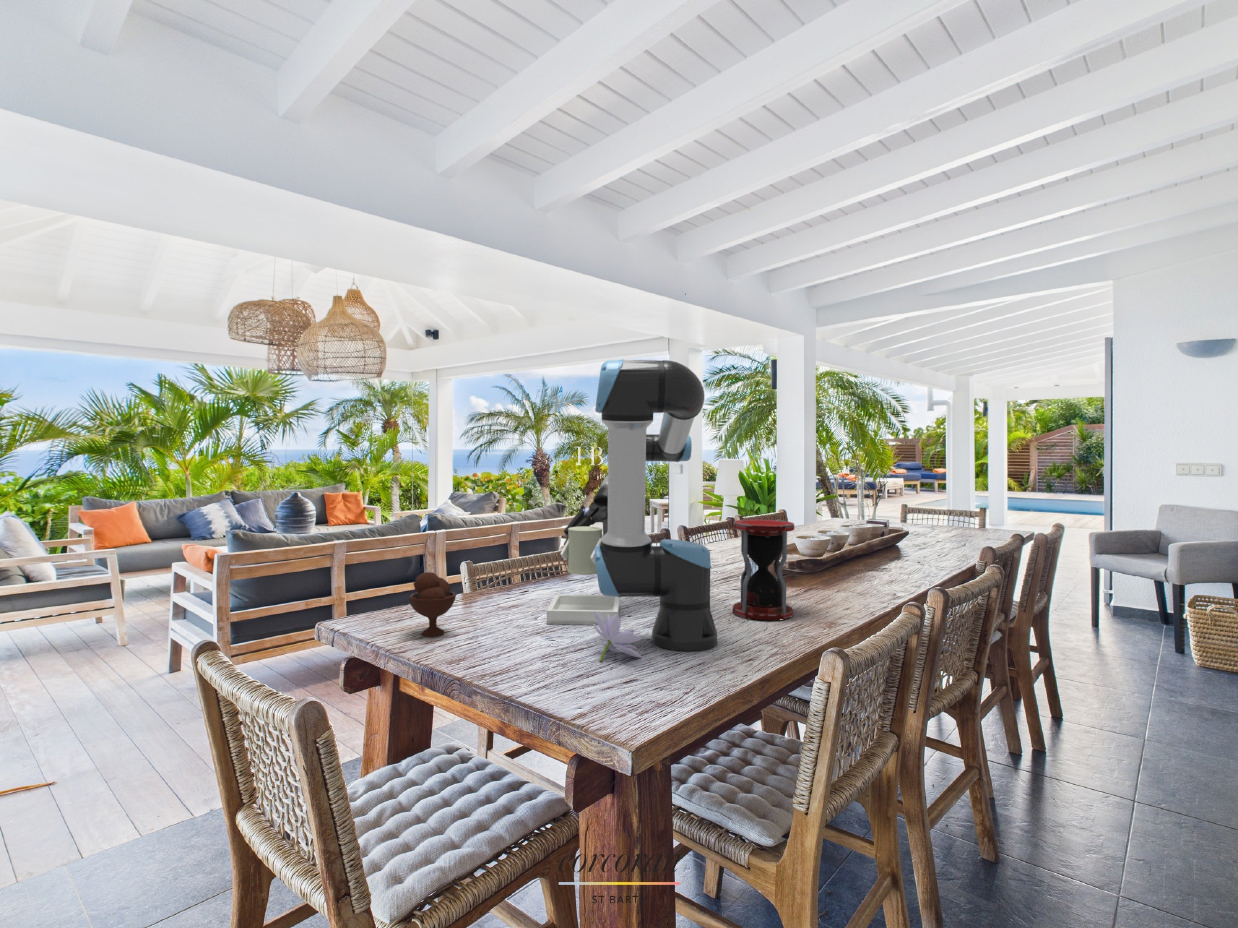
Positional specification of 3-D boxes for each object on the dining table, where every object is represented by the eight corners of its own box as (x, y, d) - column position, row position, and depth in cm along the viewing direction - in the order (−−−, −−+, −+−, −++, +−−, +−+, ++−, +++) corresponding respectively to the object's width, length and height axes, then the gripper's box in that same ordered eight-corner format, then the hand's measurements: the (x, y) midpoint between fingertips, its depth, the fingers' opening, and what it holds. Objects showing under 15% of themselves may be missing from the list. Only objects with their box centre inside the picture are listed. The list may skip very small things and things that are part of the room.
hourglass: (720, 612, 183) (721, 521, 182) (759, 603, 193) (760, 517, 192) (766, 624, 170) (767, 527, 169) (805, 615, 180) (806, 523, 179)
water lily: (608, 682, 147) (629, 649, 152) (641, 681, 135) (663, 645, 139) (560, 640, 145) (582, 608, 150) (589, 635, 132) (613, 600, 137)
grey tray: (617, 625, 168) (617, 611, 168) (546, 624, 169) (546, 610, 169) (619, 607, 186) (619, 595, 186) (555, 607, 187) (555, 594, 187)
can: (601, 574, 173) (601, 528, 172) (566, 574, 173) (566, 528, 172) (603, 568, 182) (603, 524, 182) (569, 568, 182) (569, 524, 182)
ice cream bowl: (444, 641, 153) (444, 577, 153) (400, 638, 156) (399, 574, 155) (464, 629, 164) (464, 568, 163) (422, 626, 166) (422, 566, 166)
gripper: (649, 505, 184) (618, 571, 171) (584, 501, 196) (551, 563, 182) (639, 487, 180) (607, 554, 166) (574, 484, 191) (539, 546, 178)
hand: (578, 558), depth 174 cm, fingers closed on can, 9 cm apart
